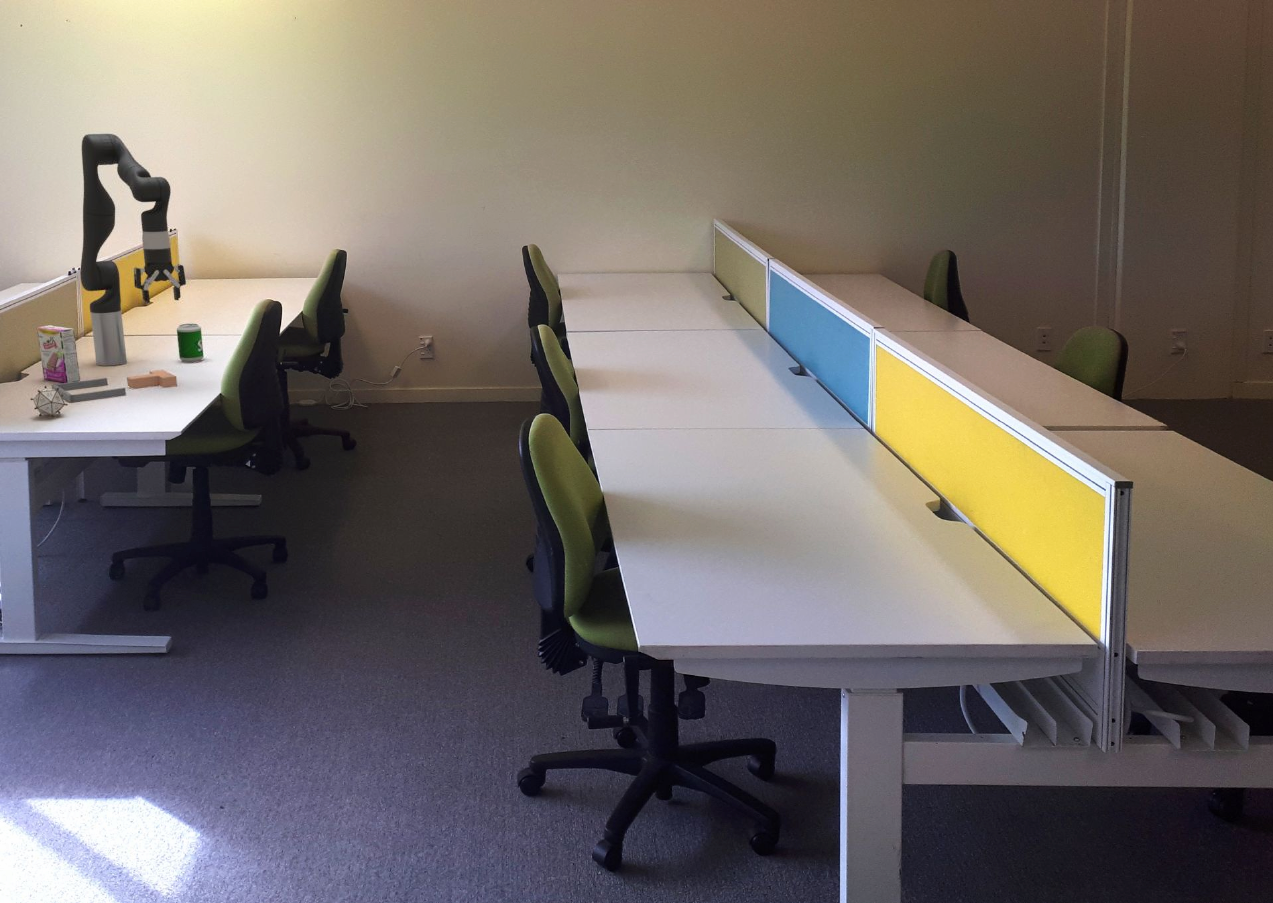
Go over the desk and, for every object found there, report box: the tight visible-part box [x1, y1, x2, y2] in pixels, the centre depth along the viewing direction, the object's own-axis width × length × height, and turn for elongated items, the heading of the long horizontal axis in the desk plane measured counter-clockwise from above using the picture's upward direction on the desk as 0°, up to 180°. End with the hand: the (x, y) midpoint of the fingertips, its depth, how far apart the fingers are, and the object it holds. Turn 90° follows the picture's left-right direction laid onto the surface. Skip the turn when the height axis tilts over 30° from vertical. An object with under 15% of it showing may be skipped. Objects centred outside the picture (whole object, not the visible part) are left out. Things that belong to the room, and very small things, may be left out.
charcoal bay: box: [51, 377, 127, 403], centre depth 357 cm, size 18×16×2 cm
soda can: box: [176, 323, 204, 364], centre depth 401 cm, size 8×8×12 cm
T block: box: [126, 369, 178, 389], centre depth 368 cm, size 12×12×3 cm
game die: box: [30, 385, 69, 419], centre depth 330 cm, size 9×8×10 cm
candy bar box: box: [36, 324, 81, 384], centre depth 371 cm, size 11×5×16 cm, turn 62°
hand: (162, 301), depth 362 cm, fingers open, 8 cm apart
